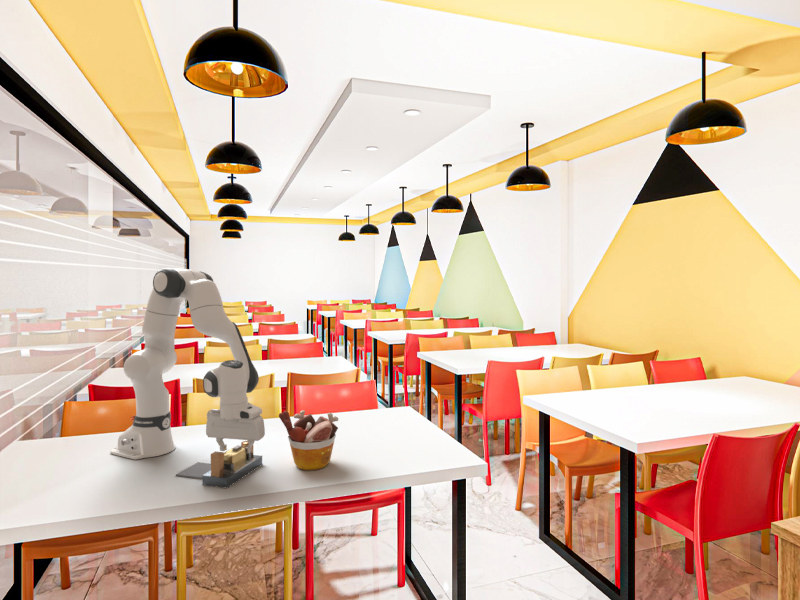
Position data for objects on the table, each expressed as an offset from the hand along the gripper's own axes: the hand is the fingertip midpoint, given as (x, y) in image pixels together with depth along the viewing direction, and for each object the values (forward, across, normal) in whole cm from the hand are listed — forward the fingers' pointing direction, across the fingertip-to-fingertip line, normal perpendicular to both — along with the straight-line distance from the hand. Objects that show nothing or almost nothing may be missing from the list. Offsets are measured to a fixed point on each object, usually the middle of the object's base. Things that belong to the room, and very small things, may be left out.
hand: (235, 451), depth 163 cm
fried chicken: (+8, +20, +13) cm, 26 cm away
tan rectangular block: (+4, -1, 0) cm, 4 cm away
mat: (+7, -13, -1) cm, 15 cm away
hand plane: (+7, -1, 0) cm, 7 cm away
